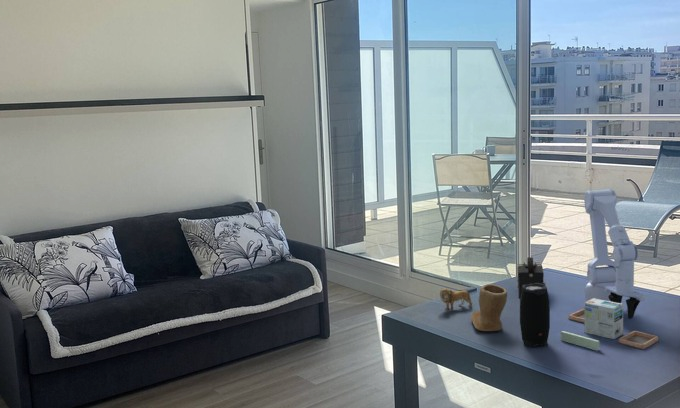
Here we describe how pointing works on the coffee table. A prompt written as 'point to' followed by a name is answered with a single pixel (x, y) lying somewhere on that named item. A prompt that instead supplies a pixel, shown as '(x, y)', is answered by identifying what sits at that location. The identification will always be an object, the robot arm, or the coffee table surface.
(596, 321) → the light bulb box
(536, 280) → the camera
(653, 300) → the coffee table surface
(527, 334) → the portable speaker
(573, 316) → the square frames and block
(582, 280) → the coffee table surface
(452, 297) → the lion figurine
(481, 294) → the tan boot
